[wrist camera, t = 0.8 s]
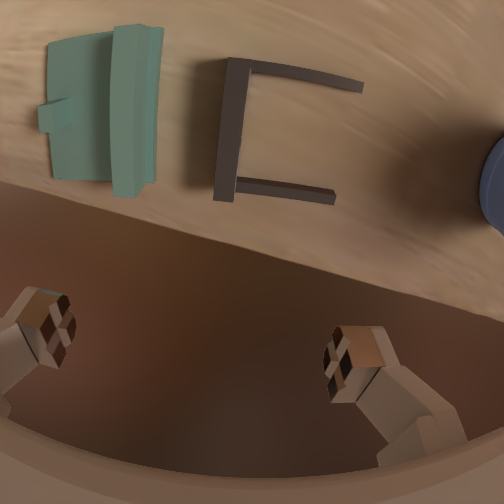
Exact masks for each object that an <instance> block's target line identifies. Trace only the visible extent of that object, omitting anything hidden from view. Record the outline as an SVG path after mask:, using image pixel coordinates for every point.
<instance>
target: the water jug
mask: <svg viewBox="0 0 504 504" xmlns="http://www.w3.org/2000/svg"><path fill="white" fill-rule="evenodd" d="M479 198H480V205H481V209H482V212H483V214H484V216H485V218H486V219H487V221H488V222H489V223H490V224H491V225H492V226H493V227H494V228H495V229H497V230H498V231H499V232H500V233H501V234H502V235H503V236H504V137H503V138H502V139H501V140H499V142H498V143H497V144H496V145H495V146H494V148H493V149H492V151H491V152H490V154H489V156H488V158H487V160H486V162H485V165H484V168H483V171H482V175H481V180H480V187H479Z"/></svg>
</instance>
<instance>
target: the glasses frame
mask: <svg viewBox="0 0 504 504" xmlns="http://www.w3.org/2000/svg"><path fill="white" fill-rule="evenodd" d="M251 72H257V73H265V74H272V75H278V76H285V77H290V78H296V79H301V80H307V81H312V82H316V83H321V84H325V85H330V86H334V87H338V88H342V89H346V90H350V91H354V92H358V93H361V94H362V91H363V86H364V83H363V82H360V81H356V80H353V79H349V78H345V77H341V76H337V75H333V74H329V73H325V72H320V71H316V70H311V69H306V68H301V67H296V66H290V65H284V64H278V63H272V62H265V61H257V60H252V59H243V58H233V57H228V62H227V68H226V76H225V84H224V92H223V101H222V110H221V120H220V130H219V139H218V148H217V159H216V170H215V181H214V195H213V200H214V201H224V202H233V200H234V192H239V193H248V194H256V195H265V196H272V197H280V198H288V199H295V200H302V201H309V202H316V203H322V204H329V205H334V203H335V199H336V194H335V192H334V190H330V189H324V188H318V187H312V186H305V185H299V184H292V183H285V182H278V181H270V180H262V179H254V178H246V177H237V171H238V162H239V154H240V147H241V139H242V138H241V135H242V127H243V120H244V116H245V108H246V101H247V94H248V87H249V80H250V73H251Z"/></svg>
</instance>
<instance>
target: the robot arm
mask: <svg viewBox="0 0 504 504" xmlns="http://www.w3.org/2000/svg"><path fill="white" fill-rule="evenodd" d="M69 307H70V301H69V298H68V296H66V295H64V294H60V293H56V292H52V291H48V290H44V289H39V288H35V287H31V286H29V287H27V288H25V289H24V291H23V292H22V294H21V295H20V296H19V297H18V299H17V300H16V301H15V302H14V304H13V305H12V307H11V308H10V309H9V311H8V312H7V313H6V315H5V316H4V318H0V504H504V427H502V428H500V429H497V430H495V431H493V432H491V433H488V434H486V435H484V436H481V437H479V438H476V439H474V440H471V441H469V442H468V441H467V438H466V436H465V433H464V430H463V428H462V425H461V423H460V420H459V417H458V415H457V412H456V410H455V408H454V407H453V406H452V405H451V404H449V403H448V402H447V401H446V400H445V399H443V398H442V397H441V396H440V395H439V394H437V393H436V392H435V391H434V390H433V389H431V388H430V387H429V386H428V385H427V384H426V383H424V382H423V381H422V380H421V379H420V378H418V377H417V376H416V375H415V374H413V373H412V372H411V371H410V370H409V369H408V368H406V367H405V366H400V364H399V361H398V359H397V356H396V354H395V352H394V349H393V347H392V345H391V342H390V340H389V338H388V335H387V333H386V331H385V329H384V328H383V327H381V326H368V327H365V326H337V327H336V328H335V329H334V331H333V333H332V338H333V341H332V342H330V343H329V344H328V345H327V346H326V349H325V351H324V357H323V368H324V373H325V374H326V375H327V376H328V377H329V378H330V381H329V382H328V384H327V388H328V392H329V398H330V402H331V403H349V402H356V405H357V406H358V407H359V408H360V409H361V410H362V412H363V413H364V414H365V415H366V416H367V418H368V419H369V420H370V421H371V422H372V424H373V425H374V426H375V427H376V428H377V429H378V431H379V432H380V433H381V434H382V435H383V437H384V438H385V439H386V440H387V441H388V443H389V445H387V446H386V447H385V448H384V449H382V450H381V451H380V452H379V453H378V454H377V460H378V464H379V468H374V469H368V470H362V471H356V472H349V473H342V474H334V475H325V476H314V477H301V478H276V479H275V478H274V479H253V478H250V479H249V478H229V477H215V476H203V475H193V474H186V473H179V472H172V471H166V470H160V469H155V468H150V467H144V466H140V465H135V464H131V463H127V462H122V461H118V460H114V459H111V458H107V457H104V456H100V455H97V454H93V453H90V452H87V451H84V450H80V449H78V448H74V447H72V446H69V445H66V444H63V443H61V442H58V441H55V440H52V439H50V438H48V437H45V436H43V435H40V434H38V433H36V432H33V431H31V430H29V429H27V428H24V427H22V426H20V425H18V424H16V423H14V422H12V421H10V420H8V419H7V417H8V414H9V411H10V409H11V408H10V405H9V403H8V402H7V401H6V400H5V399H4V397H3V396H2V395H3V394H4V393H5V392H7V391H8V390H9V389H10V388H11V387H12V386H14V385H15V384H16V383H17V382H18V381H20V380H21V379H22V378H23V377H24V376H25V375H27V374H28V373H29V372H30V371H31V370H33V369H34V368H35V367H36V366H37V365H38V363H39V364H43V365H46V366H50V367H54V368H57V369H59V368H60V366H61V364H62V362H63V360H64V357H65V356H66V349H65V347H66V346H68V345H69V344H70V343H72V341H73V339H74V337H75V332H76V320H75V317H74V315H73V313H72V312H70V310H69V309H68V308H69Z"/></svg>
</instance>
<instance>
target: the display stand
mask: <svg viewBox="0 0 504 504" xmlns="http://www.w3.org/2000/svg"><path fill="white" fill-rule="evenodd" d="M163 35H164V28H162V27H156V28H153V27H149V26H145V25H142V24H134V25H124V26H115V27H114V31H110V32H102V33H96V34H89V35H84V36H78V37H73V38H68V39H63V40H59V41H55V42H51V43H48V60H47V103H45V104H42V105H39V106H37V107H38V125H39V134H40V133H49V141H50V151H51V160H52V168H53V175H54V179H67V180H98V181H112V184H113V196H114V197H124V198H136V196H137V195H138V193H139V192H140V191H141V189H142V188H143V187H144V185H145V184H146V183H152V184H153V183H154V181H155V180H156V133H157V107H158V90H159V76H160V64H161V53H162V44H163Z"/></svg>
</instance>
